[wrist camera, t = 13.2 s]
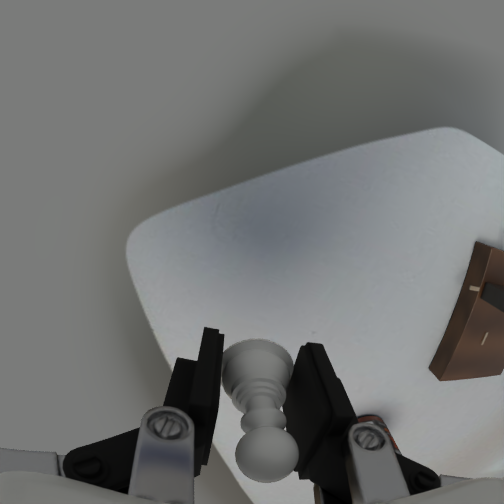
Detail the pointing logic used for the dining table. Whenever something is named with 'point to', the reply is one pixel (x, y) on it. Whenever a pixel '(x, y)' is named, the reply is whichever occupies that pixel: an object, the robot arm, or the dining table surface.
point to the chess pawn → (261, 407)
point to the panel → (474, 324)
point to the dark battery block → (494, 295)
